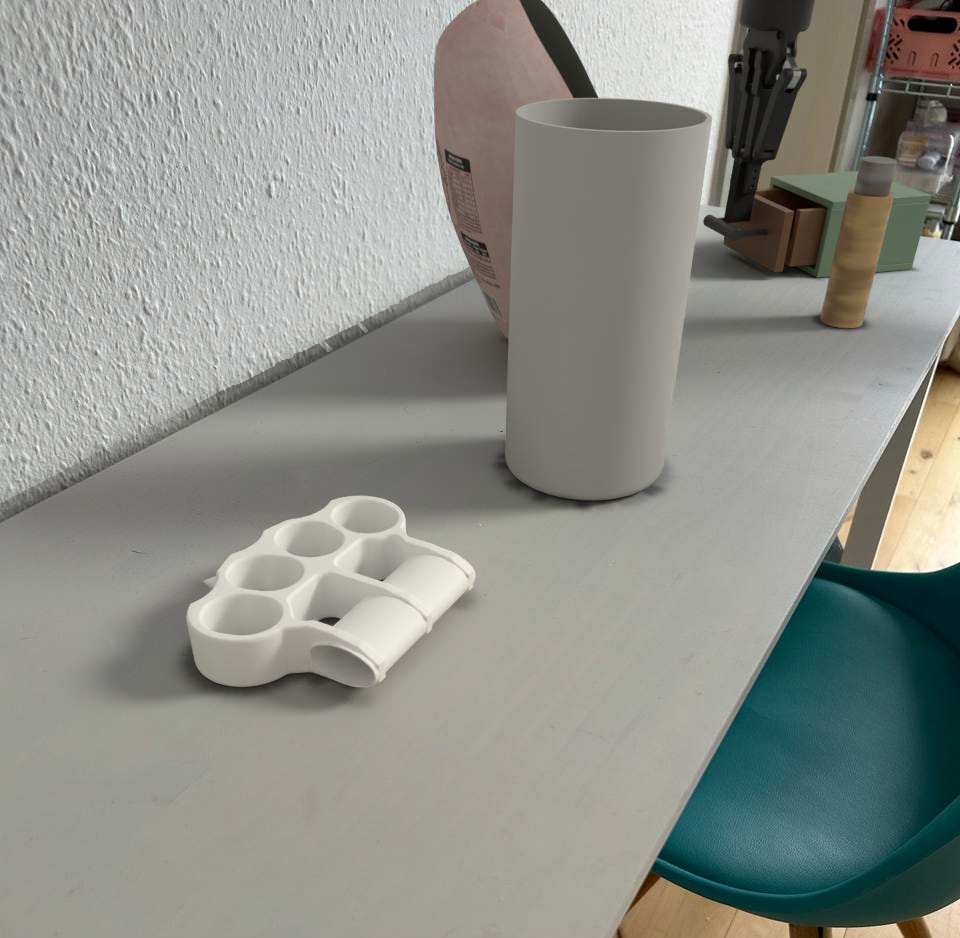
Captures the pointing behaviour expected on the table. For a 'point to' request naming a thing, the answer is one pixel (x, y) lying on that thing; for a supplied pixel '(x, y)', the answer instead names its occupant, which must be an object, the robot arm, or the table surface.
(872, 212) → the salt mill
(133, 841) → the table surface
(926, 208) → the cabinet
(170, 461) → the table surface
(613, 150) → the cylinder vase
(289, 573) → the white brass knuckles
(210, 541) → the table surface
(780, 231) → the drawer
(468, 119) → the packaged food
